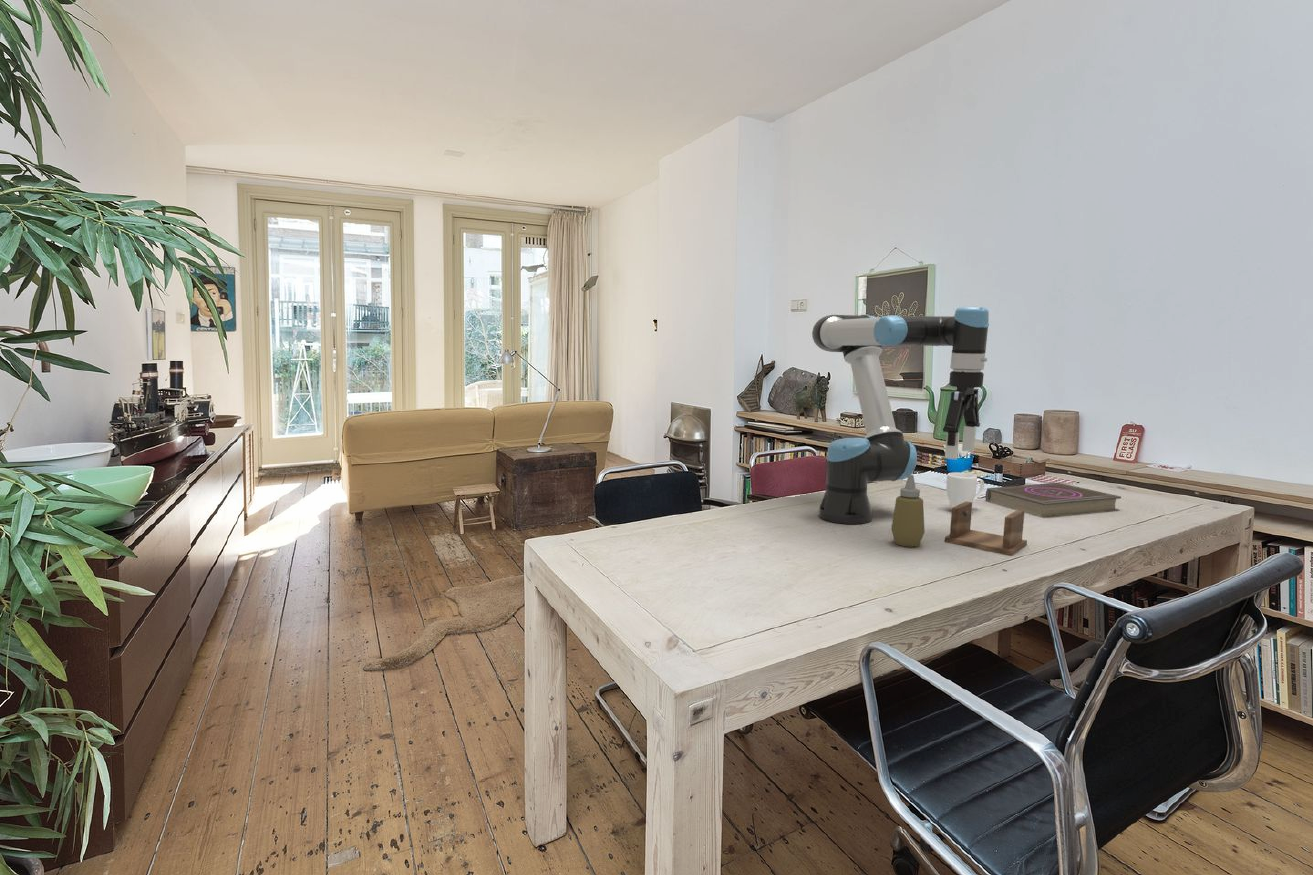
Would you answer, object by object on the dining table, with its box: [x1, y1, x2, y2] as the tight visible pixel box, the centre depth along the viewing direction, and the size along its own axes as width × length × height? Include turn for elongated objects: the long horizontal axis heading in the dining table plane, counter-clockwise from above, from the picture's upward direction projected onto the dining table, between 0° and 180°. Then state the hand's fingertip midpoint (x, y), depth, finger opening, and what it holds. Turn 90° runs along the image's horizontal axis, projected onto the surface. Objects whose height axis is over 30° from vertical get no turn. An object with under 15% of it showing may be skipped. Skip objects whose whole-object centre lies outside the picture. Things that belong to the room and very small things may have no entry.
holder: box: [944, 501, 1028, 556], centre depth 164 cm, size 16×12×9 cm
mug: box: [946, 472, 985, 510], centre depth 196 cm, size 12×8×11 cm
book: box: [985, 482, 1122, 519], centre depth 204 cm, size 30×22×5 cm
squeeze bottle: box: [890, 474, 926, 548], centre depth 162 cm, size 8×8×18 cm
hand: (959, 455), depth 161 cm, fingers open, 13 cm apart
